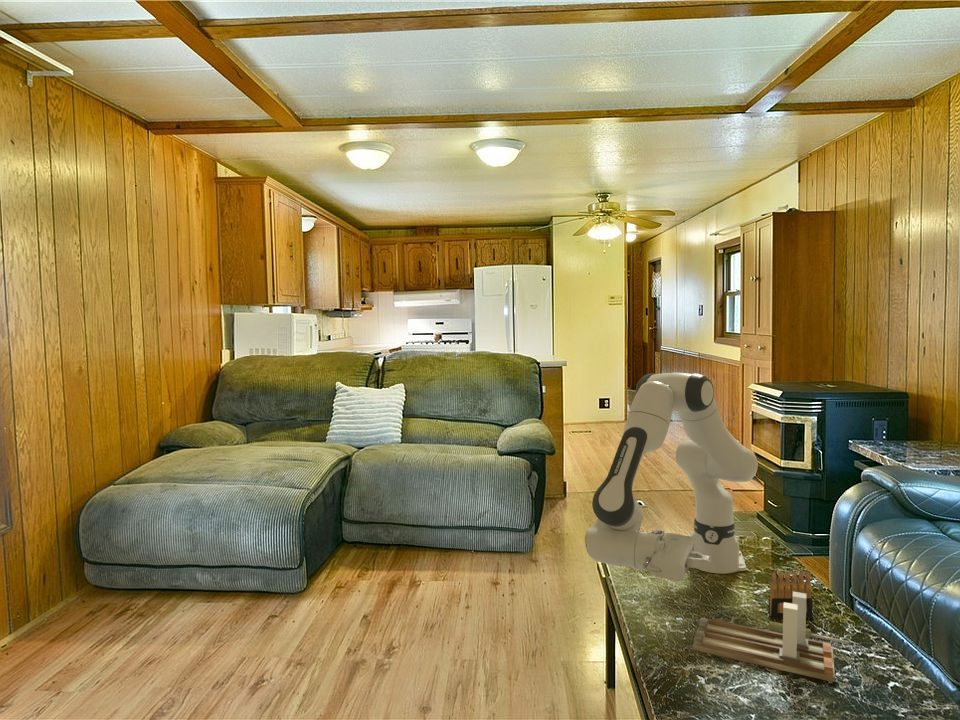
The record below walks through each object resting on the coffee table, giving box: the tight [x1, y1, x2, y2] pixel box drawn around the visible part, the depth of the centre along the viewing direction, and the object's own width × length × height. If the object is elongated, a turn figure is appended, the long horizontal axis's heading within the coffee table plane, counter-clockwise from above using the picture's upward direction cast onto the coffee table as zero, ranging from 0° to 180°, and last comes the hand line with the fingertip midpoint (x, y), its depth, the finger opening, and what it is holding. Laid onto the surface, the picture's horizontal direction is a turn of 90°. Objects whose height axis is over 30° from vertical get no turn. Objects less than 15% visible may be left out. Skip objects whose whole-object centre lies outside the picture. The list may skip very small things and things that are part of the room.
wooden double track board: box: [692, 617, 836, 683], centre depth 144 cm, size 13×29×2 cm, turn 62°
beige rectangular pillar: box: [779, 602, 800, 662], centre depth 138 cm, size 4×4×12 cm
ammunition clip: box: [767, 570, 813, 619], centre depth 160 cm, size 11×2×12 cm, turn 89°
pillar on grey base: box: [793, 591, 808, 649], centre depth 143 cm, size 4×4×12 cm
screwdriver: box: [768, 621, 850, 645], centre depth 149 cm, size 17×3×3 cm, turn 62°
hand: (710, 562), depth 145 cm, fingers closed
